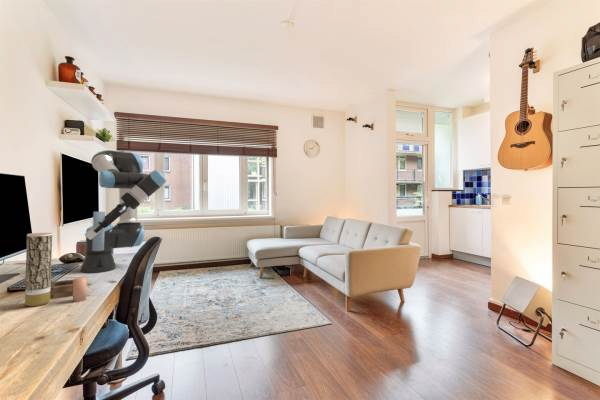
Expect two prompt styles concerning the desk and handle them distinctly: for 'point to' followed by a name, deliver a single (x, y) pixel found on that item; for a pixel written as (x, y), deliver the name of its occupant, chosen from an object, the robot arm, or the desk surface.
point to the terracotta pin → (79, 289)
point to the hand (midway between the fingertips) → (87, 236)
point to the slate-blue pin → (99, 238)
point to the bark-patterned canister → (38, 269)
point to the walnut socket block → (61, 289)
